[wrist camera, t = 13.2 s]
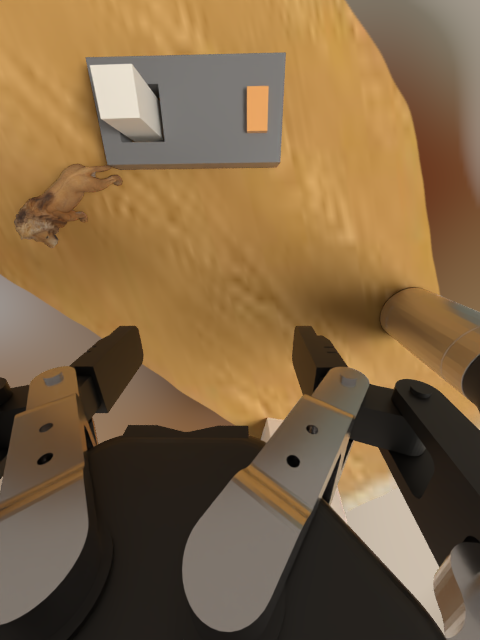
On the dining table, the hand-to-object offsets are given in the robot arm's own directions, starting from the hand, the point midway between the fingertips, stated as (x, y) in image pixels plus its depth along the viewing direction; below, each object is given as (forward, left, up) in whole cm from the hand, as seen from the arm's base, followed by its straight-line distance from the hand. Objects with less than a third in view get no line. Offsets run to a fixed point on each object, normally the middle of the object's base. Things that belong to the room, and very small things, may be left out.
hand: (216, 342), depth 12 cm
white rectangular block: (+11, -17, -28) cm, 35 cm away
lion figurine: (+22, -8, -28) cm, 37 cm away
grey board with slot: (+5, -17, -28) cm, 33 cm away
